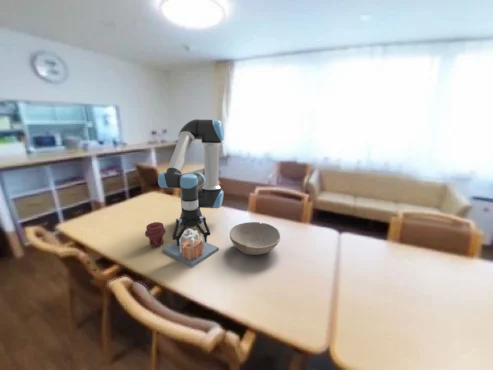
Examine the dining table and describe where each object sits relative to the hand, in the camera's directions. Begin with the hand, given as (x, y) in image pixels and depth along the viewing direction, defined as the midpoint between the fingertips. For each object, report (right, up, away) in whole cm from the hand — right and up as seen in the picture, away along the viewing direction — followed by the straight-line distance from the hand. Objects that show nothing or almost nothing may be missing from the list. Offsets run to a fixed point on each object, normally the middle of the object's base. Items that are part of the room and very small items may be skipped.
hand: (192, 249), depth 116 cm
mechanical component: (-22, 0, +11) cm, 24 cm away
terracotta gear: (0, -2, +1) cm, 2 cm away
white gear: (-4, +1, +10) cm, 11 cm away
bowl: (+31, -2, +8) cm, 32 cm away
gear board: (-2, -2, +6) cm, 7 cm away
